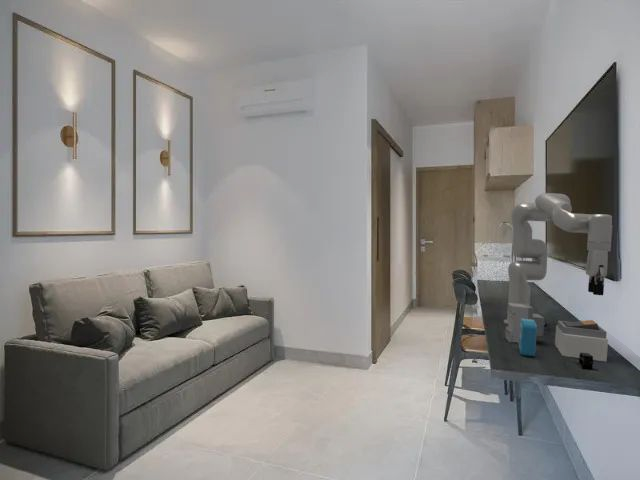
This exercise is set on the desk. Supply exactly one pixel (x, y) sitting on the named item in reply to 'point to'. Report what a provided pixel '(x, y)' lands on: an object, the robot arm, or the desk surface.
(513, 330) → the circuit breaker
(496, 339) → the desk surface
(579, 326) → the rocker
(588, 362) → the black slotted block
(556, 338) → the switch panel
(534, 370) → the desk surface
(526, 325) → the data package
